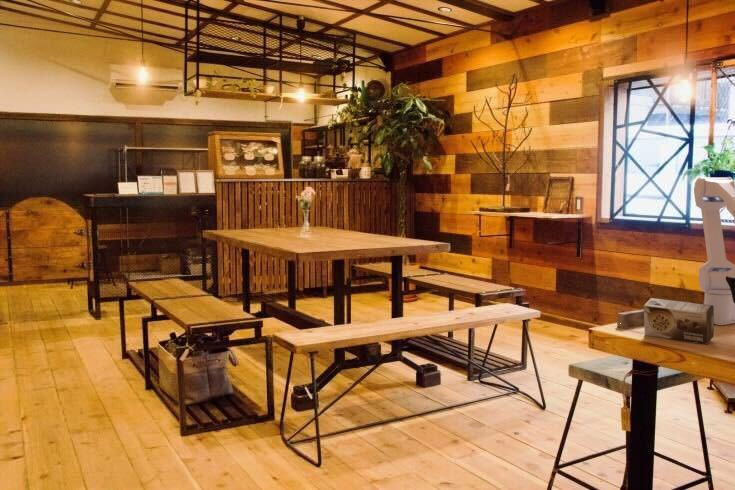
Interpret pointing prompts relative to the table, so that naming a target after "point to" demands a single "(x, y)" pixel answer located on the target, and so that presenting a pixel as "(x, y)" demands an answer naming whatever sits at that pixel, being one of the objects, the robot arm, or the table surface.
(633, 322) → the walnut board
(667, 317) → the coffee box
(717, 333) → the table surface
